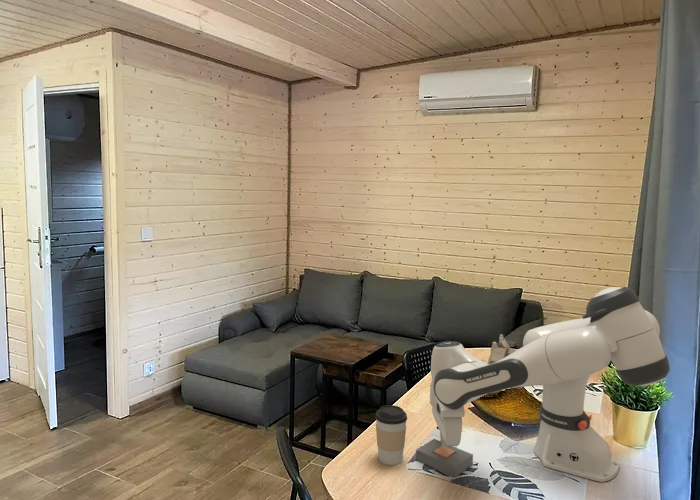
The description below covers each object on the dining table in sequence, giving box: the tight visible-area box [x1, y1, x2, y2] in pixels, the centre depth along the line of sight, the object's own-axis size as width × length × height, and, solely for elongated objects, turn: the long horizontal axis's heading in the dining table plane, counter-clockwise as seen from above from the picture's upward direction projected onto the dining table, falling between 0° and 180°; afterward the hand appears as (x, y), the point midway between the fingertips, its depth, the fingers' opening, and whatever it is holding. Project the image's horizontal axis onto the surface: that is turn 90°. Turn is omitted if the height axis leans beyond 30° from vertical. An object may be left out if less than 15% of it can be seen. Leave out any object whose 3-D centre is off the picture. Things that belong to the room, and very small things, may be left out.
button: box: [433, 446, 455, 458], centre depth 145 cm, size 4×4×3 cm
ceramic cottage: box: [487, 334, 519, 364], centre depth 216 cm, size 16×16×15 cm
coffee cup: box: [375, 404, 408, 466], centre depth 146 cm, size 9×9×15 cm
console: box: [415, 438, 474, 478], centre depth 145 cm, size 13×9×3 cm
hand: (444, 444), depth 145 cm, fingers closed
